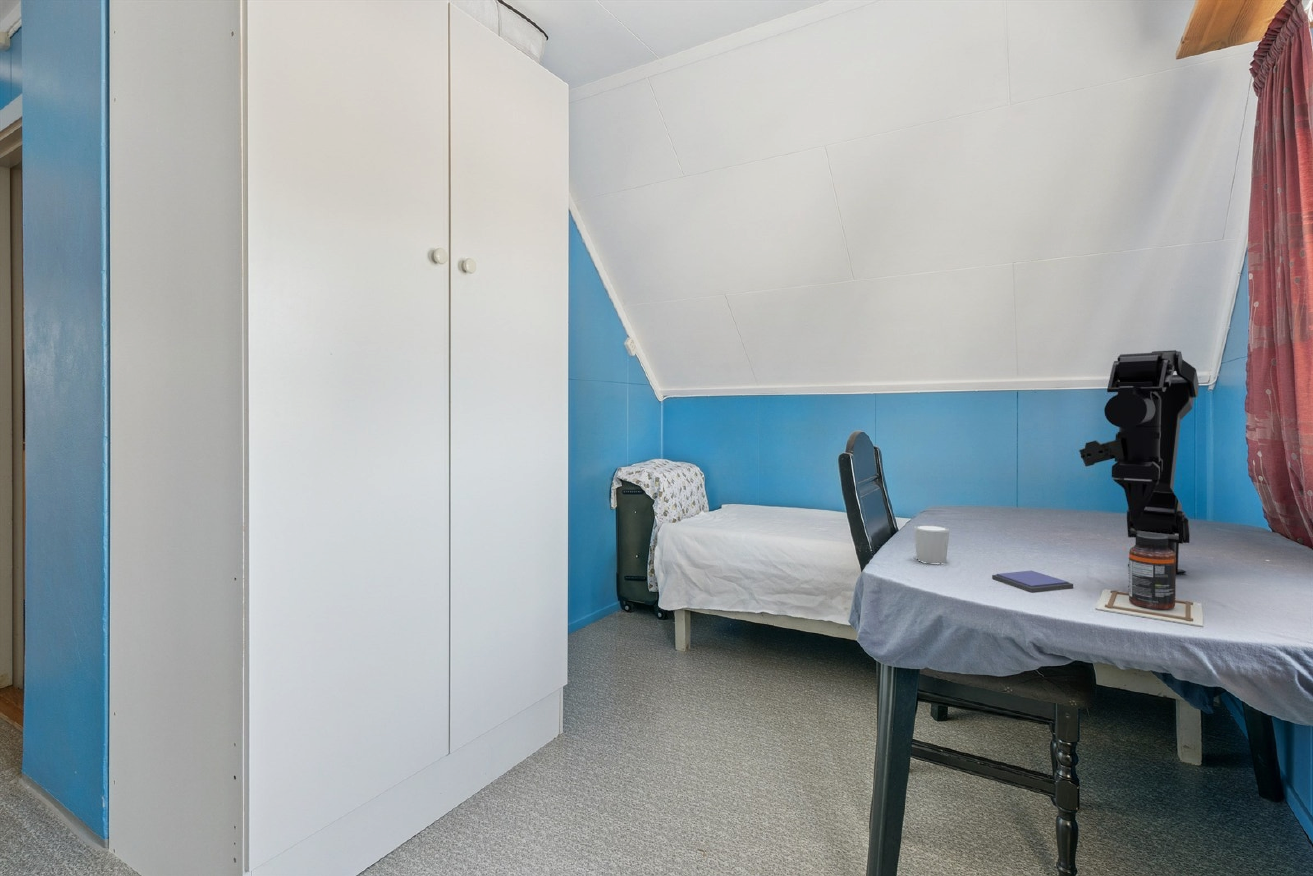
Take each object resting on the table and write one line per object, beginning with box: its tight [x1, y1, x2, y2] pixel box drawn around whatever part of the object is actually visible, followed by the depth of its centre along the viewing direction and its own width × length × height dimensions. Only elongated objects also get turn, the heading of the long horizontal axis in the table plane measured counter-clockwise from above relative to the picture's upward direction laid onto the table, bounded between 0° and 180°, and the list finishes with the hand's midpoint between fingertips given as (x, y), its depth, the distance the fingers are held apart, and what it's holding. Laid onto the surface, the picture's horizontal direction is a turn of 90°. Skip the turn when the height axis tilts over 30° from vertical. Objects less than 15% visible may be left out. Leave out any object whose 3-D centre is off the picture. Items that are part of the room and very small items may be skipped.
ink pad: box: [991, 570, 1074, 593], centre depth 116 cm, size 9×9×1 cm
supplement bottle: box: [1127, 532, 1177, 610], centre depth 102 cm, size 6×6×11 cm
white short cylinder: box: [913, 524, 951, 564], centre depth 132 cm, size 7×7×7 cm
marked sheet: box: [1094, 588, 1204, 628], centre depth 102 cm, size 13×13×1 cm
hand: (1136, 515), depth 111 cm, fingers open, 9 cm apart
